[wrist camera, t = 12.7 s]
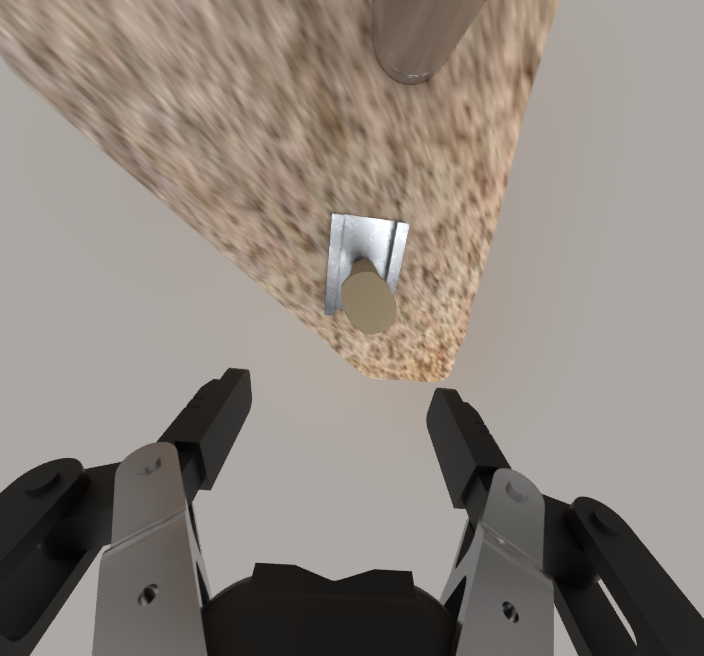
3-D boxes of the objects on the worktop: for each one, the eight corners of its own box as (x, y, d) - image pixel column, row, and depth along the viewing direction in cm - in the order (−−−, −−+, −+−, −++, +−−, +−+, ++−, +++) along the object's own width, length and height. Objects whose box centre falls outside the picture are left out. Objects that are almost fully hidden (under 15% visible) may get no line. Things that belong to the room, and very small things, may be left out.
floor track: (333, 212, 35) (332, 213, 32) (404, 222, 35) (409, 223, 32) (326, 305, 41) (324, 314, 38) (386, 312, 42) (389, 321, 38)
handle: (369, 241, 36) (379, 263, 22) (386, 281, 38) (404, 322, 25) (338, 256, 36) (330, 285, 23) (357, 294, 39) (360, 340, 26)
